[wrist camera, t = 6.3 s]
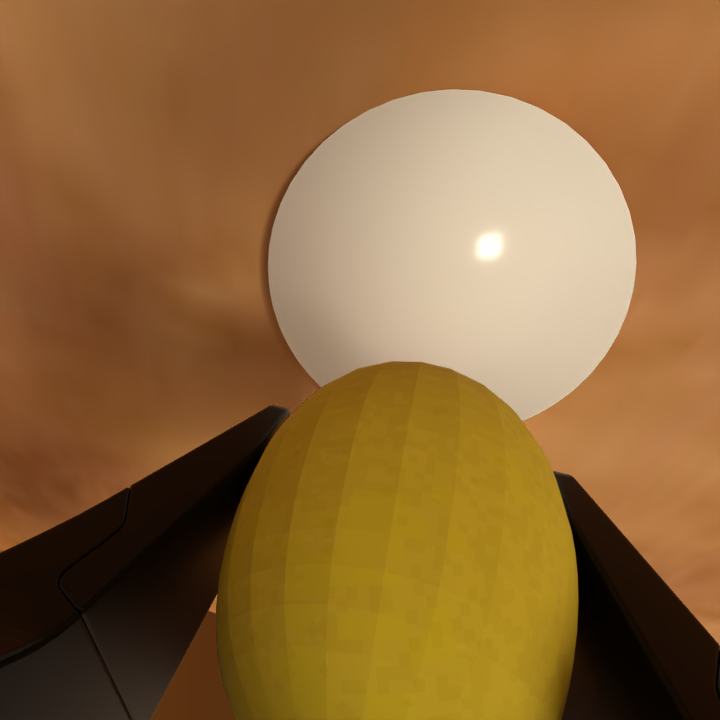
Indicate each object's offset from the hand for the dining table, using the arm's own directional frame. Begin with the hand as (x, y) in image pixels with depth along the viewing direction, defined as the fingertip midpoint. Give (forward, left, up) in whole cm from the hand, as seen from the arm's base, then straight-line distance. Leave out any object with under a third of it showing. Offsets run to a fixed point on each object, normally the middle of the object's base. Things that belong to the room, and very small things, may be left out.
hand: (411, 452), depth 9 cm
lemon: (0, 0, -2) cm, 2 cm away
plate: (0, 0, -10) cm, 10 cm away
